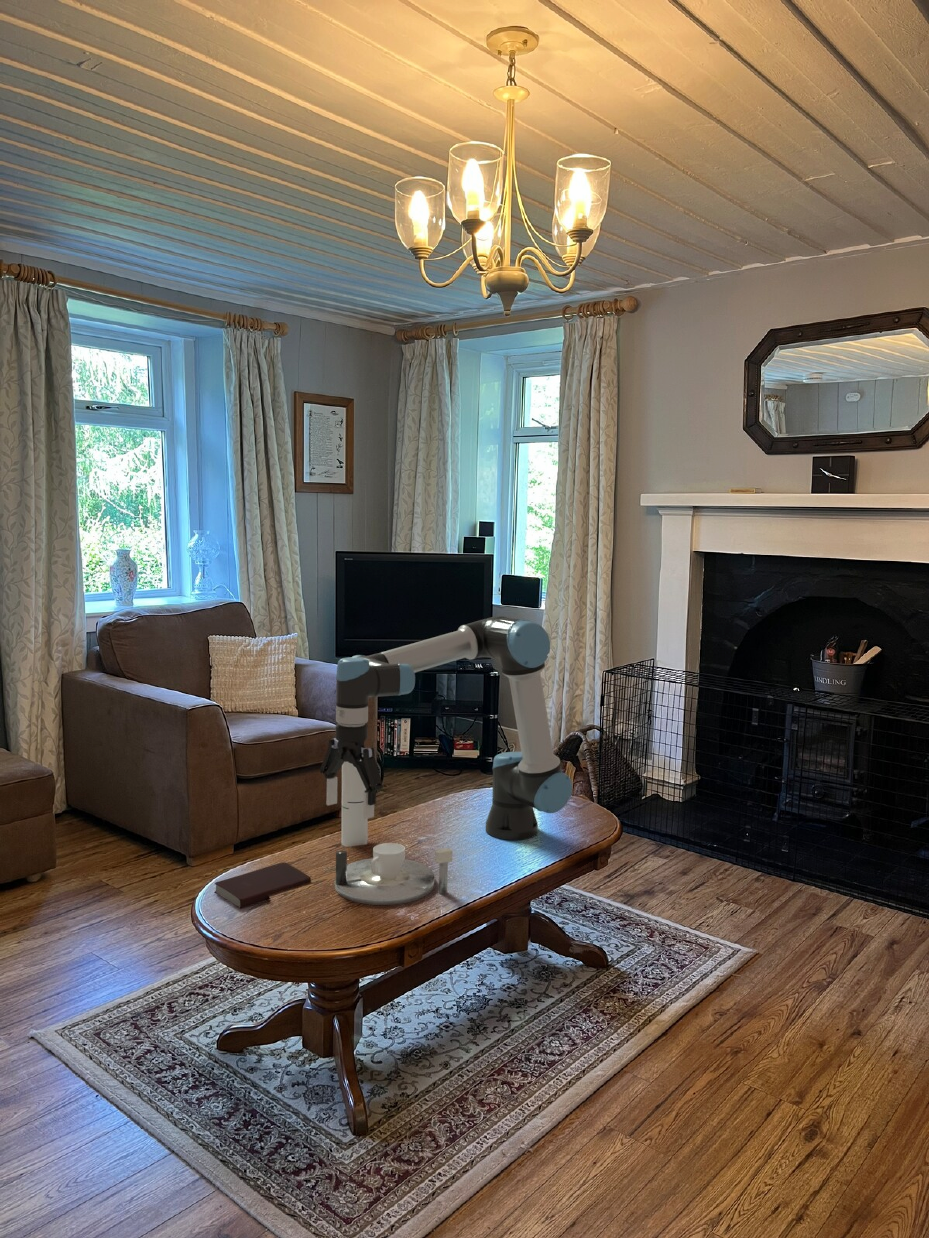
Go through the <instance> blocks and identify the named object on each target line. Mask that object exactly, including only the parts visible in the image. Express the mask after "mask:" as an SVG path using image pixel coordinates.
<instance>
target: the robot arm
mask: <svg viewBox="0 0 929 1238" xmlns="http://www.w3.org/2000/svg"><path fill="white" fill-rule="evenodd" d="M547 632H548V631H547V630H546V629H545V628H544V627H543V626H542V625H540V624H538V623H536V622H533V621H530V620H528V619H518V618H512V617H507V616H499V615H498V616H491V617H488V618H484V619H479V620H477V621H473V622H470V623H467V624H462V625H460V626H459V627H458V629H457V630H456V631H453V632H452V631H451V632H448V633H445V634H440V635H438V636H435V637H431V638H427V639H423V640H421V641H417V642H414V643H410V644H407V645H402V646H399V647H396V648H392V649H388V650H386V651H381V652H379V653H374V654H370V655H363V654H356V655H353V656H352V657H349V656H348V657H343V658H341V659H339V660H338V661H337V667H336V675H335V676H336V677H335V679H336V696H335V697H336V699H335V701H336V705H335V708H336V709H335V711H336V712H335V722H337V723H336V724H335V737H334V738H329V740H328V746H327V747H328V748H327V750H326V752H325V755H324V758H323V760H322V764H321V766H320V769H319V773H320V774H322V775H324V777H325V790H326V801H325V802H326V803H325V805H326V806H332V805H336V804H338V777H337V773H338V772H339V771H340V768H341V769H342V765H343V763H344V762H349V763H351V764H353V766H354V767H356V768H357V771H358V773H359V775H360V777H361V779H362V781H363V784H364V786H365V788H366V790H365V791H364V805H363V819H371V818H372V819H373V818H374V817H375V805H376V802H377V791H379V790H380V791H381V790H383V788H384V785H383V782H382V779H381V775H380V772H379V768H378V765H377V761H376V758H375V748H374V747H368V748H367V747H365V741H367V739H368V729H369V727H368V724H367V723H368V722H369V699H370V698H377V697H379V698H380V697H389V696H391V697H392V696H399V697H400V696H401V695H408V694H410V693H411V692H412V691H413V690H414V688H415V684H416V673H418V672H422V671H424V670H429V669H431V668H436V667H437V666H442V665H444V664H447V663H452V662H455V661H459V660H461V659H467V660H468V661H469V660H474V659H478V658H479V659H480V658H490V659H496V660H499V663H500V668H501V674H502V675H504V676H505V677H507V678H508V681H509V687H510V692H511V693H510V695H511V697H512V699H511V700H512V705H513V711H514V716H515V723H516V728H517V735H518V739H519V747H520V751H507V752H502V753H499V754H496V755H495V756H494V758H493V762H492V763H493V764H492V800H491V801H492V802H491V803H492V804H491V806H490V810H489V812H488V815H487V818H486V821H485V833H486V834H488V835H489V836H492V837H494V838H497V839H500V840H501V839H503V840H508V841H509V840H510V841H517V840H519V841H520V840H527V839H531V838H534V837H535V836H537V835H538V832H539V824H538V820H537V817H536V814H535V810H537V811H539V812H543V813H546V814H556V813H558V812H559V811H560V812H561V810H563V808H564V807H566V805H567V804H568V801H569V800H570V799H571V797H572V794H573V782H572V779H571V778H570V776H569V775H568V774H566V773H565V772H563V771H562V770H563V769H562V764H561V759H560V757H559V756H557V755H556V754H554V748H553V743H552V742H553V741H552V737H551V736H552V735H551V730H550V724H549V717H548V712H547V706H546V705H547V704H546V699H545V691H544V687H543V682H542V681H543V680H542V675H541V673H542V672H543V671H544V669H545V668H546V664H545V663H546V661H547V660H548V658H549V656H548V655H549V654H550V653H551V641H550V640H551V639H550V637H549V634H548V633H547ZM360 760H361V761H360ZM534 809H535V810H534Z"/></svg>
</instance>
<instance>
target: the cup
mask: <svg viewBox="0 0 929 1238" xmlns="http://www.w3.org/2000/svg"><path fill="white" fill-rule="evenodd" d="M372 856H373V857H372V858H373V859H372V862H371V870H372V872H373V873H374V874H375V875H377V876H381V877H382V878H386V879H391V878H395V877H397V876H398V874H399V873H400V871H401V869H402V867H403V865H404V861H405V859H406V847H405V846H404V845H403V844H400V843H397V842H395V843H394V842H384V843H379V844H377V845H374V847H373V848H372ZM375 867H376V869H375ZM376 870H377V871H376Z"/></svg>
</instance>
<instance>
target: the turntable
mask: <svg viewBox="0 0 929 1238" xmlns="http://www.w3.org/2000/svg"><path fill="white" fill-rule="evenodd" d="M372 859H373V857H371V858H366V859H365V858H364V859H360V860H356V861H354V862H351V863H349V864H348V851H346V850H337V851H336V852H335V876H334V888H335V891H336V892H337V894H339V896H341V897H343V898H344V899H347V900H349V901H351V902H355V903H357V904H358V903H359V904H364V905H370V906H394V905H395V906H396V905H402V904H406V903H407V904H408V903H411V902H415V901H417V900H420V899H422V898H424V897H426V896H427V895H429V894H430V893H431V892H432V891H433V889H434V888H435V873H434V871H433V869H431V868H430V867H429V866H427V865H426V864H424V863H421V862H419V861H416V860H412V859H407V858H405V861H404V865H403V867H402V869H401V871H400V873H399V874H398V876H397V877H395V878H391V879H386V878H382V877H381V876H377V875H375V874H374V873H373V872H372V870H371V862H372ZM375 869H376V867H375ZM376 871H377V870H376Z"/></svg>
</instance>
